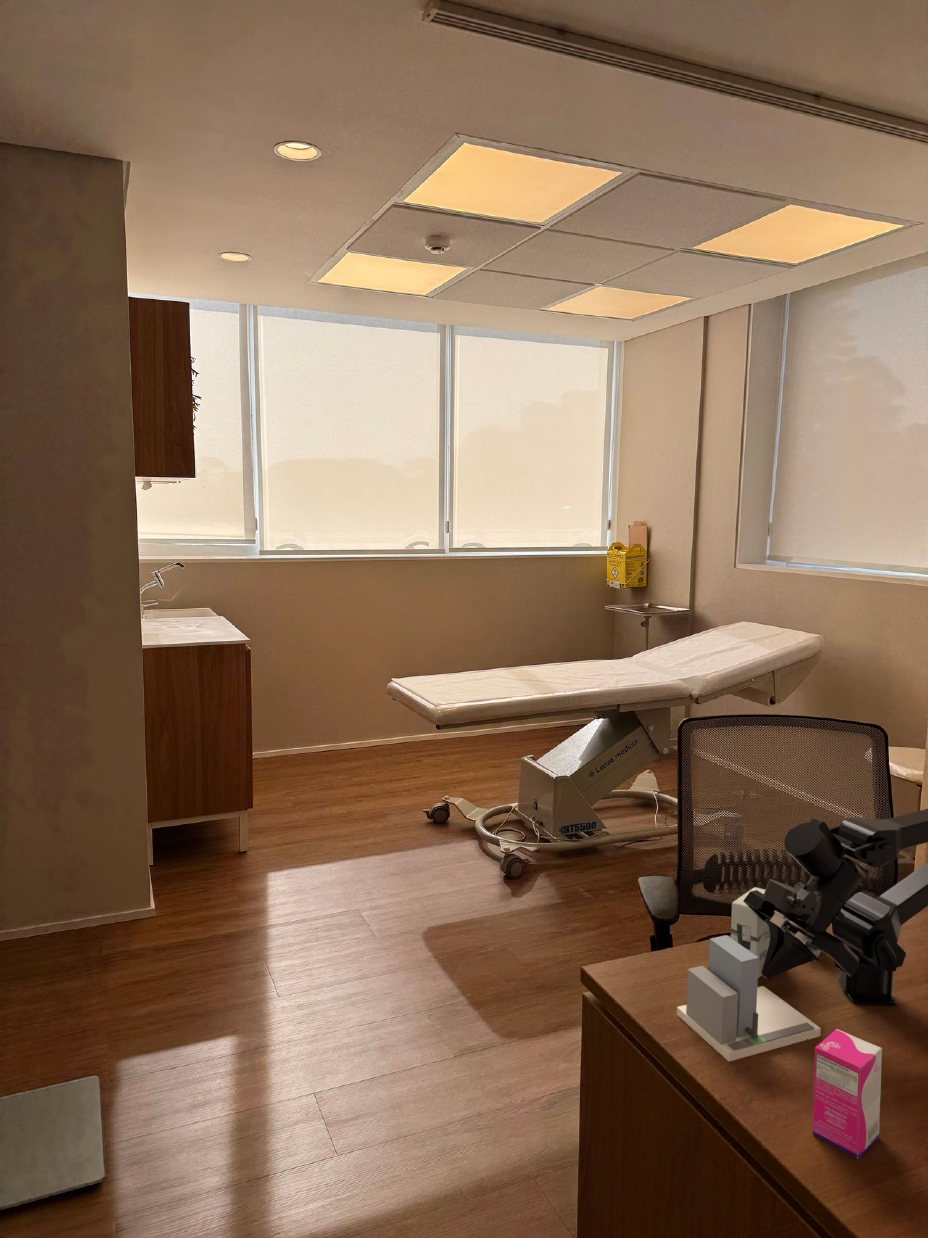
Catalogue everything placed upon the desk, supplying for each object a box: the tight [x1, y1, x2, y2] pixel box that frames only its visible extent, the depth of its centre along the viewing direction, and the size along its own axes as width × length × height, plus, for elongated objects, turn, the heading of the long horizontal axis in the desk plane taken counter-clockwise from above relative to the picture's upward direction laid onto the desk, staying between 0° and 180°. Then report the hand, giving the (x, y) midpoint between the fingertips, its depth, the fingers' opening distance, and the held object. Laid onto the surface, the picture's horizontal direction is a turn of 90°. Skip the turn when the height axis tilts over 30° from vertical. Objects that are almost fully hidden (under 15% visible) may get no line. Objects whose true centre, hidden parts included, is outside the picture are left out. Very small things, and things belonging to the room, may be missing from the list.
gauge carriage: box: [708, 934, 759, 1039], centre depth 123 cm, size 3×9×11 cm, turn 21°
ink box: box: [730, 887, 770, 979], centre depth 142 cm, size 9×5×12 cm, turn 136°
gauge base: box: [676, 965, 822, 1062], centre depth 126 cm, size 16×12×8 cm
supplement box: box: [812, 1028, 883, 1160], centre depth 103 cm, size 6×6×12 cm
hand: (764, 977), depth 126 cm, fingers closed
